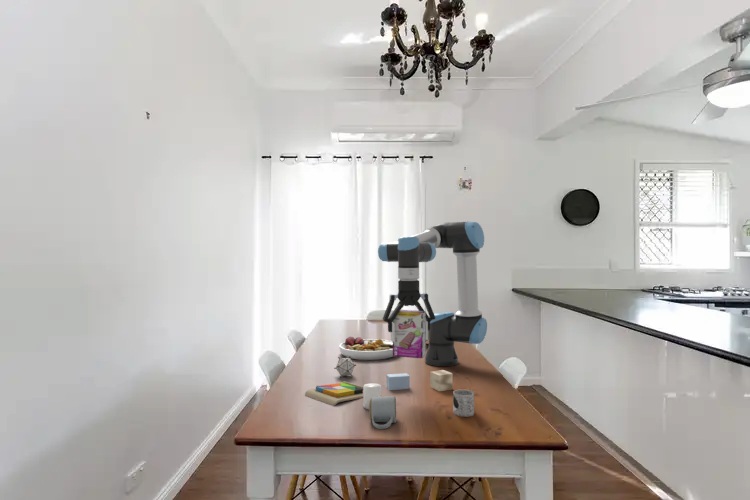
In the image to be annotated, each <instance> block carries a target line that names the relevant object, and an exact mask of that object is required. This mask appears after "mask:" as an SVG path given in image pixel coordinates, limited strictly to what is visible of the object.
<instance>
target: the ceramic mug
mask: <svg viewBox="0 0 750 500" xmlns="http://www.w3.org/2000/svg"><path fill="white" fill-rule="evenodd" d="M368 415H369V420H370V422H372V426H373V427H374V428H376V429H378V430H384V429H387V428H389V427H390V426H391V425H392V423H395V424H396V422H397V401H396V396H395V395H391V396H390V395H389V396H388V395H387V396H381V397H374V398H371V399H370V401H369V409H368ZM378 423H385V424H378Z"/></svg>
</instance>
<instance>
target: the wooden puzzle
mask: <svg viewBox="0 0 750 500" xmlns="http://www.w3.org/2000/svg"><path fill="white" fill-rule="evenodd" d="M363 390H364V386H362V385H359V384H354V383H351V382H348V381H342V382H337V383H331V384H324V385H323V384H322V385H316V386H315V388H311V389H307V390H305V392H304V395H305V397H308V398H310V399H312V400H316V401H319V402H321V403H325V404H327V405H329V406H334V407H335V406H336V405H337V404H338V403H342V402H348V401H351V400H357V399H363Z"/></svg>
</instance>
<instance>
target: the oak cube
mask: <svg viewBox="0 0 750 500" xmlns="http://www.w3.org/2000/svg"><path fill="white" fill-rule="evenodd" d="M429 373H430V374H429V377H430V378H429V379H430V380H429V382H430V383H429V384H430V385H429V386H430V388H431V389H433V390H435V391H438V392H444V391H450V390H453V388H454V387H453V386H454V385H453V381H454V380H453V376H454V375H453V373H452V372H450V371H447V370H444V369H441V370H440V369H439V370H433V371H430V372H429Z"/></svg>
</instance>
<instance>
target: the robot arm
mask: <svg viewBox="0 0 750 500" xmlns="http://www.w3.org/2000/svg"><path fill="white" fill-rule="evenodd" d="M484 243H485V234H484V231H483V228H482V226H481V224H479V223H478V222H476V221H468V220H467V221H457V222H456V221H455V222H454V221H453V222H442V223H439V224H435V225H433V226H429V227H427V228H425V229H424V230H423V231H422V232H421V233H420V232H419V233H417V234H414V235H411V236H400V237H399V238H398V240H396V241H393V242H389V241H388V242H381V243H380V244H379V246H378V250H377V255H378V258H379V259H380V261H382V262H388V263H390V262H391V263H392V262H393V263H397V264H398V266H397V269H398V270H397V271H398V272H397V276H398V277H397V278H398V279H399V280H398V281H397V282H398V286H397V290H398V292H397V294H392V293H390V294H389V301H388V303H387V306H386V308H385V311H384V314H383V317H382V321H384V322H385V323H387V331H388V333H390V341H392V342H395V323H393V321H394V319H395V318H396V316H397V315H398V313H399V312H400V310H402V309H403V307H404V306H405V307H409V306H411V307H412V306H413V307H414V306H415V307H416V308H417V311H425V308H426V310H427V313H426V322H425V326H426V327H425V332H426V333H425V335H426V336H425V340H428V330H429V340H428V348H427V350H426V355H425V356H424V362H425V364H427V365H429V366H435V367H451V366H455V365H458V364H459V357H458V354H457V351H456V348H455V343H464V344H470V345H471V344H473V345H474V344H475V345H479V344H481V343H483V341H484V339H485V337H486V335H487V332H488V331H487V330H488V320H487V319H486V318H484V317H483V314H482V311H480V310H479V295H478V294H479V293H478V268H477V267H478V264H477V255H479V253H480V249H482V248H483V247H484ZM437 249H452V253H453V254H454V255H455V256H456V271H457V272H456V274H457V280H456V281H457V298H458V299H457V301H458V310H457V311H456V312H455V313H454V312H453V311H446V312H445V311H444V312H443V311H441V312H435V313H434V310H433V308H432V304H431V303H430V301H429V294H428V293H427V292H423V293H421V292H420V280H419V279H420V263H429V262H432V261H433V260H434V259H435V258H436V257H437ZM397 299H398V300H399V302H398V303H397V305H396V307H395V308H394V310H392V309H393V306H394V304H395V302H396V300H397ZM420 299H422V300H423V303H424V306H425V308H423V306H422V305H421V303H420V301H419V300H420ZM393 311H394V312H393ZM391 312H392V313H391Z"/></svg>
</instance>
